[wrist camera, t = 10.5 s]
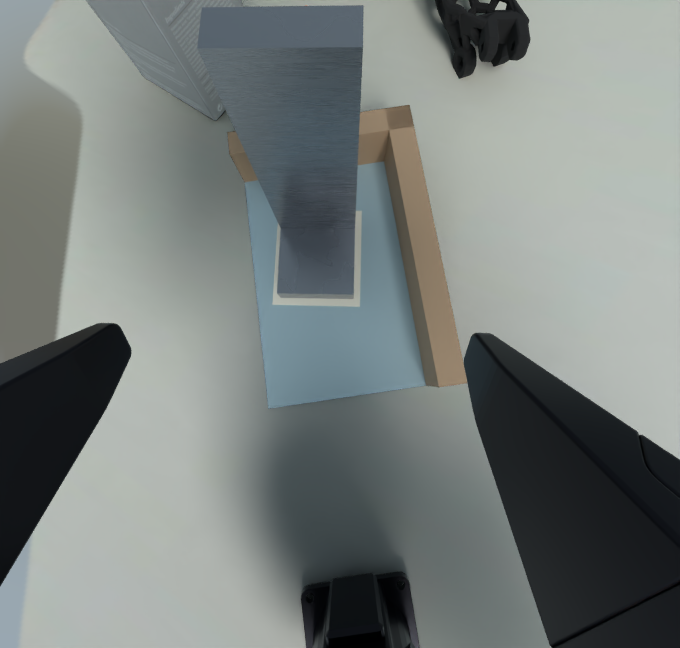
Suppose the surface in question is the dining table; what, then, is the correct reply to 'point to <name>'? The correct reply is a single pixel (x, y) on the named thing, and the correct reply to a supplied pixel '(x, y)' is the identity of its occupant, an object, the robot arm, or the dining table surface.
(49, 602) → the dining table surface
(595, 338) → the dining table surface
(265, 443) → the dining table surface
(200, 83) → the skincare box
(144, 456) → the dining table surface
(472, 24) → the decorative element
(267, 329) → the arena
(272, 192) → the grey tall post
